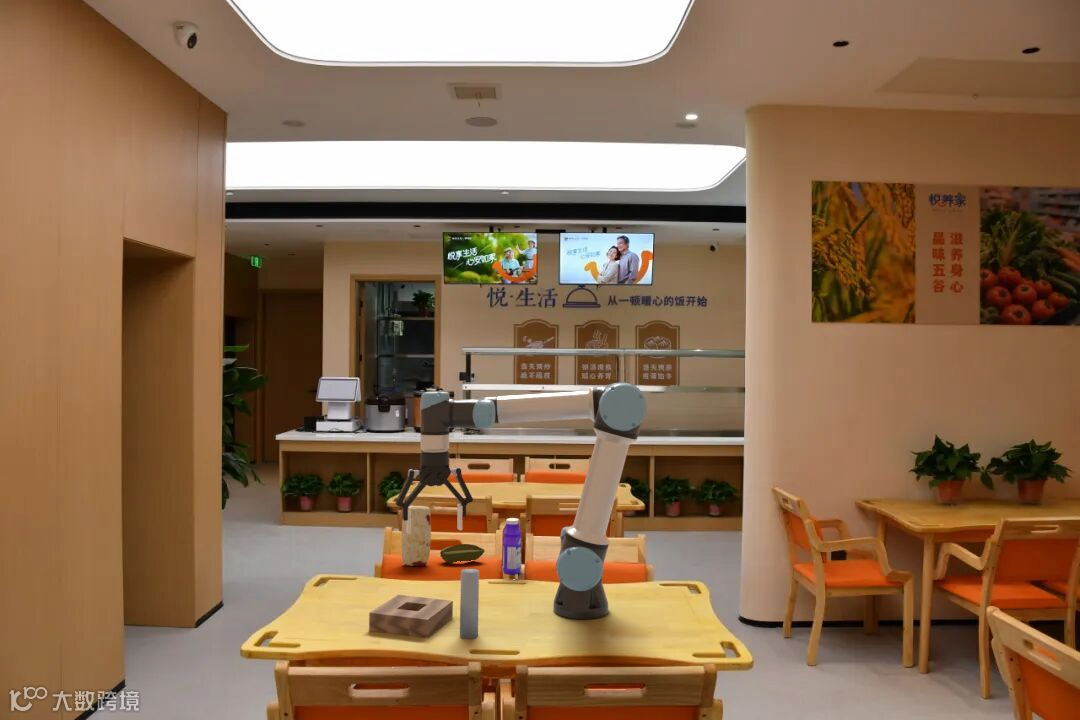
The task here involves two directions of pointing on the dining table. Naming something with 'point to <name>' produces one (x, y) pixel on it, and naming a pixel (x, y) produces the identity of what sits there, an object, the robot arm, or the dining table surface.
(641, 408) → the robot arm
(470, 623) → the peg
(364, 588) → the dining table surface
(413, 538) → the food model
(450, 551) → the fruit
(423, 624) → the socket block
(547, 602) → the dining table surface
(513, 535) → the bottle
